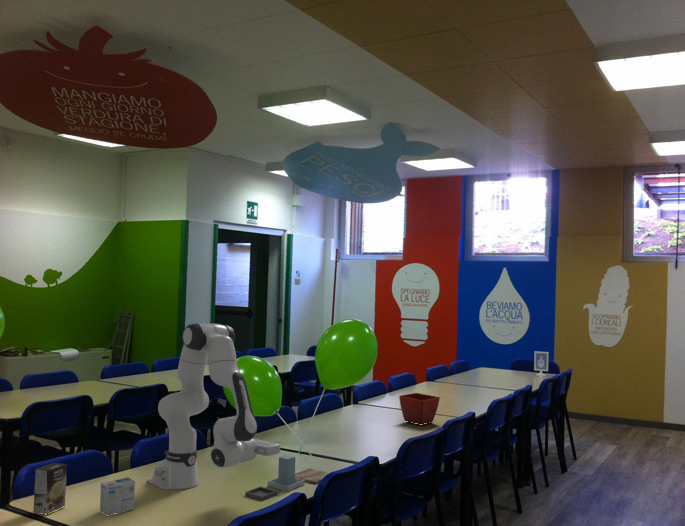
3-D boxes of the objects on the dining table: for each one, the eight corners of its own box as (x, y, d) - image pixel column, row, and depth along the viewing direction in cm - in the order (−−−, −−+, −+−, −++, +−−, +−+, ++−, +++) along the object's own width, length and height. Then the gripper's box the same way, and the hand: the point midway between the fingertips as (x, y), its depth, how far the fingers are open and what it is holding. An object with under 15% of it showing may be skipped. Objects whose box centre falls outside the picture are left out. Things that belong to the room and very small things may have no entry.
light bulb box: (126, 505, 233) (127, 476, 233) (134, 510, 228) (136, 480, 229) (98, 511, 226) (100, 482, 226) (106, 517, 221) (107, 486, 221)
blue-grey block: (277, 485, 261) (278, 457, 261) (285, 482, 265) (286, 454, 265) (287, 488, 258) (288, 459, 258) (294, 485, 262) (295, 456, 263)
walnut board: (290, 477, 272) (290, 475, 272) (309, 470, 283) (309, 468, 283) (315, 484, 264) (315, 481, 264) (334, 476, 275) (334, 474, 275)
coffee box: (47, 516, 220) (49, 470, 220) (32, 513, 222) (34, 468, 222) (65, 507, 229) (67, 464, 229) (51, 505, 230) (53, 462, 231)
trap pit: (245, 495, 247) (245, 492, 247) (260, 490, 254) (260, 486, 254) (262, 500, 242) (262, 496, 242) (276, 494, 249) (277, 490, 249)
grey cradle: (267, 485, 260) (268, 481, 260) (284, 479, 269) (284, 474, 269) (288, 491, 254) (288, 486, 254) (304, 484, 263) (304, 479, 263)
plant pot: (439, 423, 391) (440, 396, 392) (422, 427, 377) (422, 400, 378) (415, 418, 404) (416, 392, 405) (397, 422, 390) (398, 395, 391)
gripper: (266, 445, 235) (289, 438, 246) (228, 437, 246) (251, 431, 258) (266, 461, 235) (289, 454, 246) (227, 453, 246) (251, 446, 258)
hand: (269, 442), depth 252 cm, fingers open, 8 cm apart
